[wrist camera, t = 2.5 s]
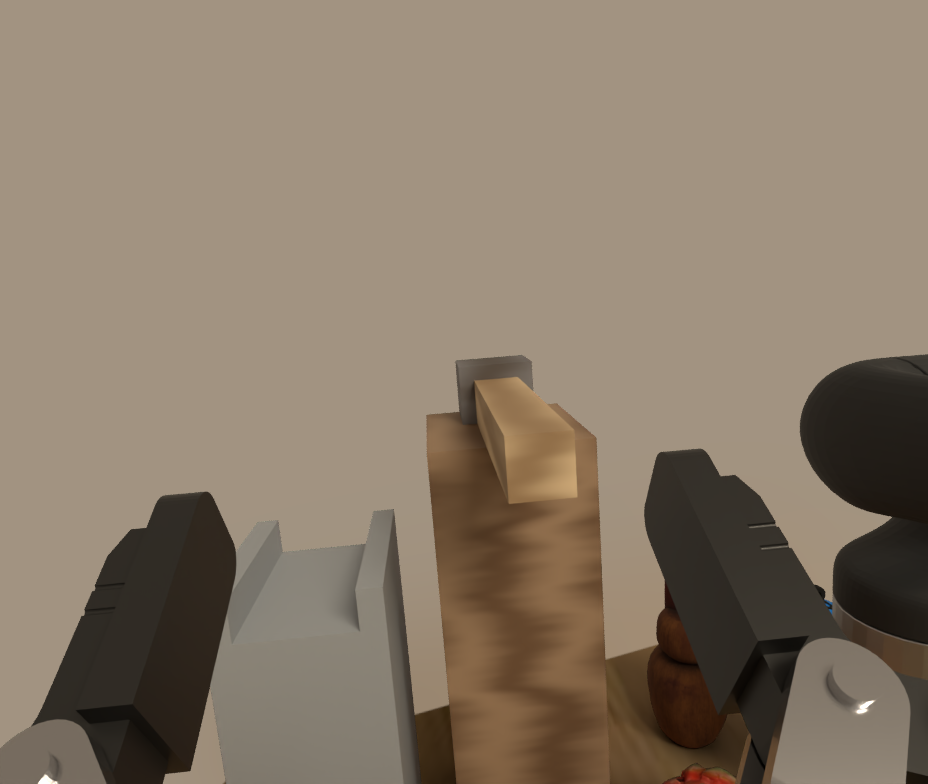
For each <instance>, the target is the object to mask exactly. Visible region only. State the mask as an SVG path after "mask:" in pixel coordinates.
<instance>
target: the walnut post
mask: <svg viewBox="0 0 928 784" xmlns="http://www.w3.org/2000/svg"><path fill="white" fill-rule="evenodd" d="M547 405H548V406H549V407H550V408H551V409H553V410H554V411H555V412H556V413H557V414H558V415H559V416H560V417H561V418H562V419H563V420H564V421H565V422H566V423H567V424H569V425H570V426H571V427H572V428H573V429H574V433H575V454H576V476H577V497H576V498H566V499H555V500H545V501H534V502H524V503H513V504H509V503H508V501H507V498H506V496H505V493H504V491H503V488H502V485H501V483H500V480H499V478H498V475H497V473H496V470H495V468H494V465H493V462H492V460H491V457H490V455H489V452H488V450H487V447H486V445H485V442H484V439H483V437H482V434H481V432H480V429H479V427H478V424H467V425H463V423H462V420H461V416H460V412H454V413H443V414H431V415H427V459H428V469H429V470H428V471H429V482H430V493H431V504H432V516H433V526H434V537H435V549H436V560H437V572H438V583H439V594H440V604H441V616H442V627H443V638H444V649H445V661H446V672H447V682H448V694H449V706H450V717H451V728H452V739H453V750H454V762H455V773H456V784H610V764H609V739H608V714H607V690H606V665H605V642H604V641H605V640H604V615H603V591H602V566H601V543H600V542H601V541H600V520H599V519H600V517H599V496H598V495H599V493H598V468H597V444H596V443H597V442H596V437H595V436H594V435H593V434H591V433H590V432H589V431H588V430H587V429H586V428H584V427H583V426H582V425H581V424H580V423H579V422H577V421H576V420H575V419H574V418H573V417H572V416H571V415H569V414H568V413H567V412H566V411H565V410H564V409H562V408H561V407H560V406H559V405H558V404H547Z"/></svg>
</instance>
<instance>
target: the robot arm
mask: <svg viewBox="0 0 928 784" xmlns="http://www.w3.org/2000/svg"><path fill="white" fill-rule="evenodd" d="M800 436H801V441H802V445H803V448H804V452H805V454H806V457H807V459H808V461H809V463H810V465H811V467H812V468H813V470H814V471H815V472H816V474H817V475H818V476H819V478H820V479H821V480H822V481H823V482H824V484H825V485H826V486H828V488H830V490H831V491H833V492H834V493H836V494H837V495H838V496H839V497H840V498H842V499H843V500H845V501H847V502H848V503H850V504H851V505H853V506H855V507H858V508H860V509H863V510H866V511H869V512H873V513H877V514H881V515H886V516H891V517H892V518H891V519H890V520H889V521H887V522H886V523H885V524H883V525H882V526H880V527H878V528H877V529H875V530H873V531H871V532H869V533H867V534H865V535H863V536H861V537H859V538H857V539H855V540H853V541H852V542H850V543H848V544H847V545H845V546H844V547H843V548H842V549H841V550H840V551H839V553H838V554H837V556H836V559H835V562H834V569H833V602H832V614H831V612H830V611H829V609H828V607H827V606H826V604H825V602H824V601H823V599H822V597H821V596H820V594H819V592H818V591H817V589H816V588H815V586H814V584H813V583H812V581H811V579H810V578H809V576H808V575H807V573H806V571H805V570H804V568H803V566H802V564H801V563H800V561H799V560H798V558H797V556H796V555H795V553H794V551H793V550H792V548H789V546H788V541H787V540H786V538H785V536H784V535H783V533H782V532H781V530H780V528H779V527H776V525H775V520H774V518H773V517H772V515H771V514H770V512H769V510H768V508H767V507H766V505H765V504H764V502H763V500H762V499H761V497H760V496H759V495H758V494H757V493H756V492H755V491H753V490H752V489H751V488H750V487H749V486H747V485H746V484H745V483H744V482H743V481H742V480H740V479H739V478H738V477H737V476H736V475H732V476H720V475H719V473H718V471H717V469H716V467H715V466H714V464H713V462H712V460H711V459H710V457H709V455H708V454H707V453H706V452H705V451H704V450H703V449H691V450H680V451H670V452H660V453H659V454H658V455H657V457H656V461H655V465H654V469H653V474H652V478H651V482H650V486H649V490H648V495H647V499H646V503H645V510H644V517H645V526H646V531H647V535H648V538H649V541H650V543H651V546H652V548H653V551H654V554H655V556H656V559H657V561H658V564H659V566H660V568H661V571H662V573H663V576H664V579H665V581H666V584H667V586H668V589H669V592H670V594H671V597H672V599H673V602H674V604H675V607H676V609H677V612H678V614H679V617H680V619H681V622H682V625H683V627H684V630H685V632H686V635H687V637H688V640H689V642H690V645H691V647H692V650H693V652H694V655H695V657H696V660H697V663H698V665H699V668H700V670H701V673H702V675H703V678H704V680H705V683H706V685H707V688H708V690H709V693H710V695H711V698H712V701H713V703H714V706H715V708H716V711H717V713H718V715H724V714H733V713H741V714H742V716H743V719H744V721H745V723H746V726H747V728H748V730H749V733H748V736H747V738H746V742H745V746H744V750H743V753H742V757H741V761H740V765H739V769H738V773H737V777H736V781H735V784H928V355H915V356H902V357H889V358H879V359H871V360H864V361H859V362H855V363H852V364H849V365H846V366H844V367H841V368H839V369H837V370H835V371H834V372H832V373H830V374H829V375H827V376H826V377H825V378H824V379H823V380H821V381H820V382H819V383H818V384H817V386H816V387H815V388H814V390H813V391H812V392H811V394H810V395H809V397H808V399H807V401H806V403H805V405H804V408H803V411H802V415H801V420H800ZM235 576H236V551H235V547H234V543H233V540H232V538H231V536H230V534H229V532H228V530H227V527H226V525H225V523H224V521H223V518H222V516H221V514H220V512H219V510H218V507H217V505H216V503H215V501H214V499H213V497H212V495H211V494H210V493H209V492H198V493H188V494H176V495H165V496H162V497H161V498H160V499H159V500H158V501H157V503H156V505H155V507H154V510H153V512H152V515H151V518H150V520H149V523H148V525H147V528H141V529H131V530H130V531H129V532H128V533H127V534H126V536H125V537H124V538H123V539H122V540H121V541H120V542H119V544H118V545H117V546H116V547H115V549H114V550H112V552H111V553H110V554H109V555H108V556H107V559H106V561H105V563H104V566H103V568H102V570H101V572H100V575H99V577H98V579H97V582H96V584H95V588H96V589H95V591H92V593H91V596H90V598H89V600H88V603H87V605H86V607H85V615H84V616H81V619H80V621H79V623H78V626H77V628H76V630H75V633H74V635H73V637H72V640H71V642H70V644H69V647H68V649H67V651H66V654H65V656H64V658H63V661H62V663H61V665H60V667H59V670H58V672H57V674H56V677H55V679H54V681H53V684H52V686H51V688H50V690H49V693H48V695H47V697H46V700H45V702H44V704H43V707H42V709H41V711H40V713H39V715H38V717H37V718H36V720H35V721H34V723H33V725H32V726H31V727H29V728H27V729H26V730H24V731H22V732H21V733H19V734H17V735H16V736H15V737H13V738H12V739H11V740H9V741H8V742H7V743H6V744H5V745H3V746H2V747H1V748H0V784H163V780H164V777H165V774H169V773H178V772H187V771H190V770H191V766H192V762H193V758H194V753H195V749H196V745H197V740H198V736H199V732H200V727H201V723H202V719H203V715H204V710H205V705H206V702H207V697H208V693H209V689H210V684H211V680H212V676H213V671H214V667H215V663H216V658H217V654H218V650H219V646H220V641H221V637H222V633H223V628H224V624H225V620H226V615H227V611H228V607H229V602H230V598H231V594H232V589H233V585H234V581H235Z"/></svg>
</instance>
